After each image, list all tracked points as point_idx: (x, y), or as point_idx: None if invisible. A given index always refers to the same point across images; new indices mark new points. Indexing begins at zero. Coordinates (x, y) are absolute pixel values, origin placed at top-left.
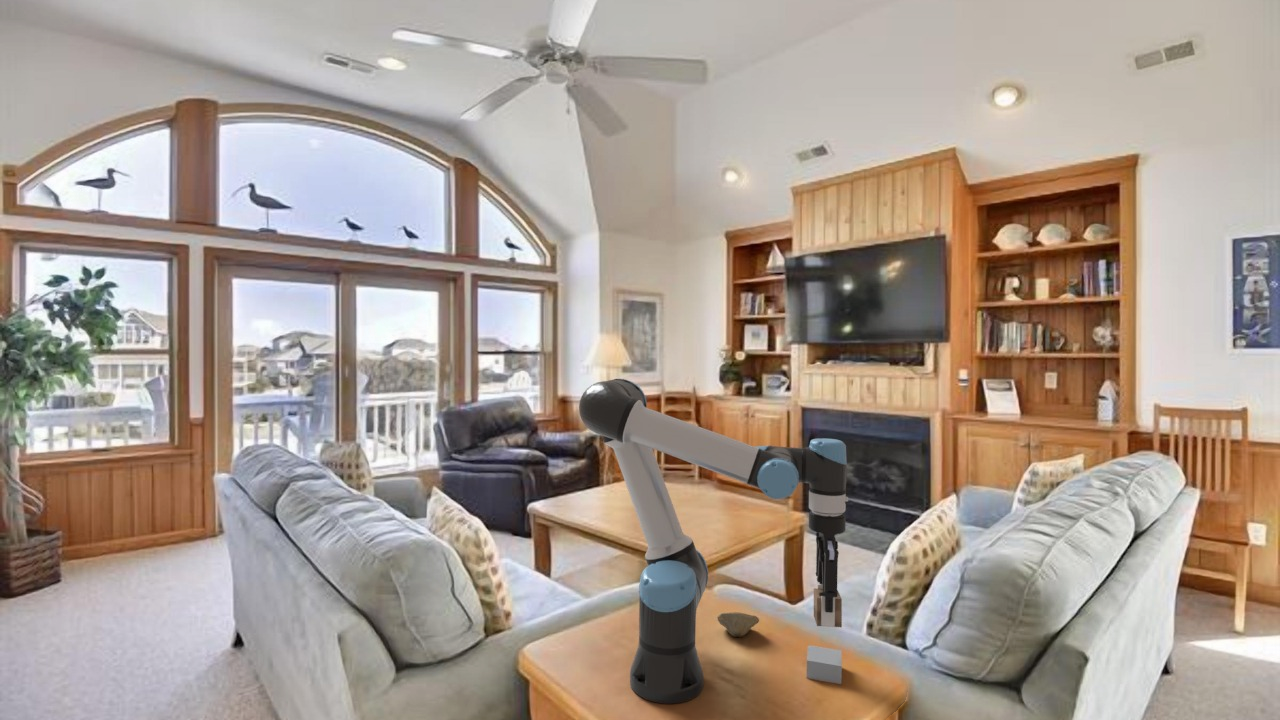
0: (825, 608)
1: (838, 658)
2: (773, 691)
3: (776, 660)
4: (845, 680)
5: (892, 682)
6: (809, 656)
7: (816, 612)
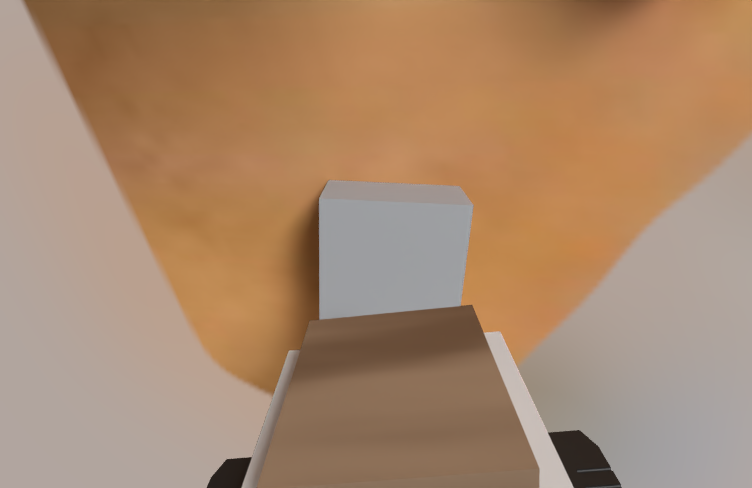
0: (225, 483)
1: None
2: (176, 46)
3: (438, 48)
4: None
5: None
6: (360, 210)
7: (325, 367)
